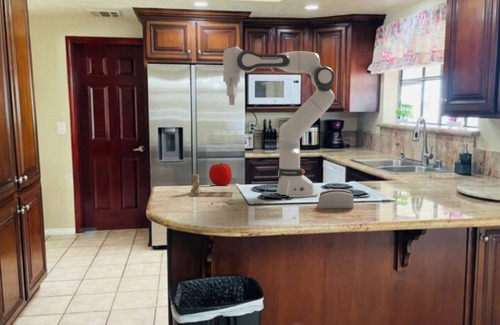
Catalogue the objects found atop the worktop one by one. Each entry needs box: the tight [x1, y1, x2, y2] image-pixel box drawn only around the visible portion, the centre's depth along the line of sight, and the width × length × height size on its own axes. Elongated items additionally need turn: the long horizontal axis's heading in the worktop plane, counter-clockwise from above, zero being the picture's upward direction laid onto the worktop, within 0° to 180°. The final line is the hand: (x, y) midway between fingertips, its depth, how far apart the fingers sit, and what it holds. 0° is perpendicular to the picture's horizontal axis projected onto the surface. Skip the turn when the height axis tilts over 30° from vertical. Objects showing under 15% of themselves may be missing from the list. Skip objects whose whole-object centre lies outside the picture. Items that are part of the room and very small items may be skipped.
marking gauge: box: [190, 173, 202, 195], centre depth 226 cm, size 4×6×10 cm
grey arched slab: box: [317, 188, 355, 209], centre depth 200 cm, size 17×5×10 cm, turn 89°
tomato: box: [208, 162, 233, 187], centre depth 256 cm, size 16×14×14 cm
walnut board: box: [188, 191, 234, 198], centre depth 224 cm, size 22×13×2 cm, turn 88°
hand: (231, 105), depth 225 cm, fingers open, 8 cm apart
